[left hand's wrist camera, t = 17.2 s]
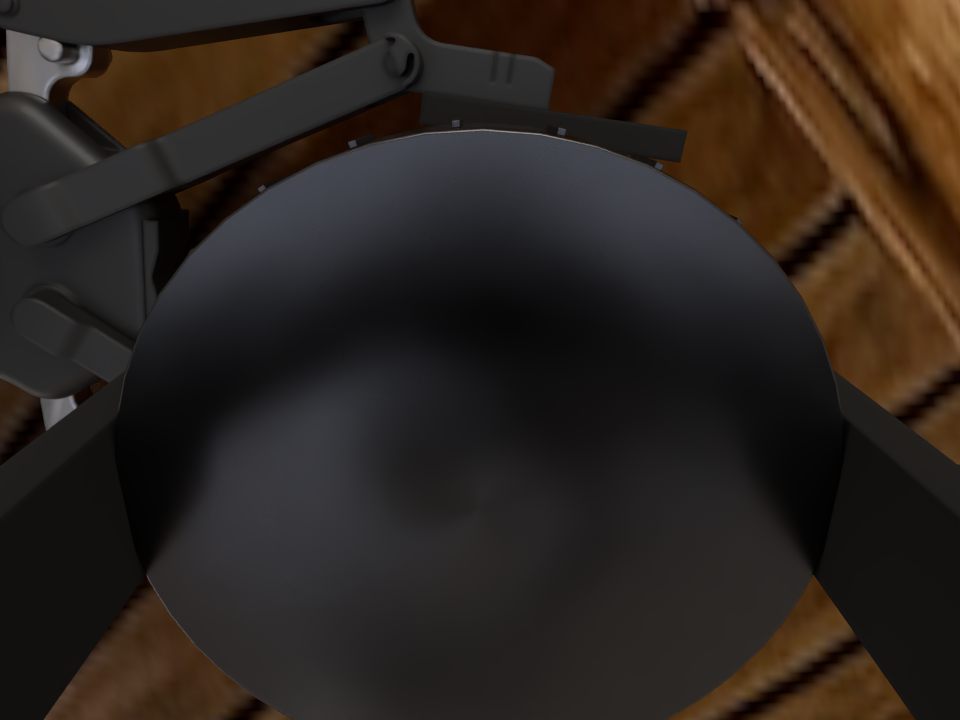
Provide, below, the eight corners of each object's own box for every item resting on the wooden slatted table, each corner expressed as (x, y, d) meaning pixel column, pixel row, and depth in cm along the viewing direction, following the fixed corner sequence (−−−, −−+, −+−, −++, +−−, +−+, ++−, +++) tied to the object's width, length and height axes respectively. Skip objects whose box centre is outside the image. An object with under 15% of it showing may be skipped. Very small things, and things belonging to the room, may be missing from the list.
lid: (216, 671, 14) (171, 766, 12) (118, 114, 10) (29, 118, 8) (737, 674, 14) (780, 769, 12) (841, 120, 10) (931, 125, 8)
